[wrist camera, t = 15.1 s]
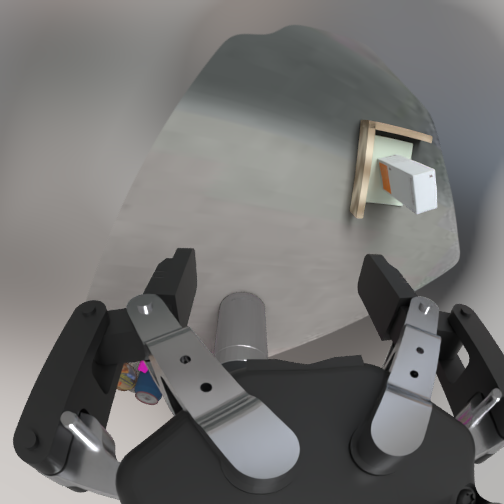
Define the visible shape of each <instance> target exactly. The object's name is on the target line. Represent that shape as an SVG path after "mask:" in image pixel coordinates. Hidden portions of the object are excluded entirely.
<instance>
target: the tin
mask: <svg viewBox="0 0 504 504" xmlns="http://www.w3.org/2000/svg"><path fill="white" fill-rule="evenodd" d="M136 382H137V374H136V372H135V370H134V369H133V367H132V366H131V365H129V364H128V363H124V366H123V369H122V372H121V375H120V379H119V382H118V385H117V389H118V390H121V391H127V390H130V389H132V388H134V387H135V385H136Z"/></svg>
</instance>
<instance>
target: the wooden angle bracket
mask: <svg viewBox="0 0 504 504" xmlns="http://www.w3.org/2000/svg"><path fill="white" fill-rule="evenodd" d="M375 129H376V130H381V131H385V132H390V133H394V134H399V135H403V136H407V137H411V138H415V139H418V140H422V141H426V142H430V143H432V136H430V135H426V134H423V133H419V132H416V131H412V130H408V129H404V128H401V127H396V126H392V125H388V124H384V123H379V122H374V121H370V120H361V124H360V135H359V145H358V154H357V163H356V171H355V178H354V186H353V192H352V199H351V205H350V212H351V213H352V214H353V215H354V216H355V217H356V218H363V214H364V209H365V203H366V197H367V191H368V185H369V178H370V172H371V164H372V156H373V148H374V139H375Z"/></svg>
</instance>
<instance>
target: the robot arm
mask: <svg viewBox="0 0 504 504" xmlns="http://www.w3.org/2000/svg"><path fill="white" fill-rule="evenodd" d="M196 288H197V273H196V260H195V250H194V248H177V250H176V252H175V254H174V256H173V258H166V259H165V260H163V261H162V262H161V263H159V265H158V266H157V268H156V270H155V272H154V274H153V276H152V278H151V279H150V281H149V283H148V285H147V287H146V289H145V291H144V293H143V294H141V295H138V296H136V297H134V298H132V299H131V300H130V301H129V302H128V304H127V306H126V308H124V309H118V310H110V311H107V309H106V306H105V304H104V303H102V302H101V301H96V300H92V301H87V302H84V303H82V304H81V305H79V306H78V307H77V308H76V309H75V310H74V312H73V314H72V315H71V317H70V319H69V320H68V322H67V324H66V325H65V327H64V329H63V331H62V332H61V334H60V336H59V338H58V339H57V341H56V343H55V345H54V347H53V349H52V350H51V352H50V354H49V356H48V358H47V360H46V362H45V364H44V366H43V368H42V370H41V372H40V374H39V376H38V378H37V380H36V383H35V385H34V387H33V389H32V391H31V394H30V396H29V398H28V400H27V403H26V405H25V407H24V410H23V412H22V415H21V417H20V420H19V422H18V426H17V428H16V431H15V433H14V437H13V444H14V448H15V451H16V453H17V455H18V456H19V457H20V458H21V459H22V460H23V461H24V462H26V463H27V464H29V465H30V466H32V467H33V468H35V469H36V470H37V471H38V472H39V473H41V474H42V475H44V476H46V477H47V478H49V479H51V480H53V481H54V482H56V483H58V484H60V485H62V486H65V487H67V488H69V489H71V490H73V491H75V492H86V491H91V492H94V493H97V494H100V495H104V496H107V497H110V498H115V499H118V500H120V502H121V504H500V503H492V502H489V501H487V500H485V499H483V498H482V497H481V496H480V495H479V494H478V492H477V490H476V487H475V482H474V463H476V464H479V463H482V462H483V461H485V460H486V459H488V458H489V457H491V456H492V455H493V454H495V453H496V452H497V451H499V450H500V449H501V448H502V447H504V355H503V353H502V351H501V350H500V348H499V347H498V345H497V344H496V342H495V341H494V339H493V338H492V336H491V335H490V333H489V332H488V330H487V329H486V327H485V326H484V324H483V323H482V322H481V320H480V319H479V318H478V316H477V315H476V313H475V312H474V311H473V310H472V309H471V308H469V307H468V306H466V305H462V304H456V305H455V306H454V307H453V309H452V311H451V313H446V312H441V311H439V309H438V306H437V305H436V304H435V303H434V302H433V301H431V300H430V299H428V298H425V297H418V296H417V295H416V293H415V292H414V290H413V289H412V288H411V286H410V285H409V284H408V283H407V281H406V280H405V279H404V278H403V276H402V275H401V273H400V272H399V271H398V270H397V269H396V268H394V267H393V266H391V265H390V264H389V263H388V262H387V261H386V259H385V258H384V257H383V256H382V255H378V254H367V255H366V256H365V258H364V262H363V265H362V269H361V273H360V277H359V281H358V293H359V296H360V297H361V299H362V301H363V303H364V305H365V307H366V309H367V311H368V313H369V315H370V317H371V319H372V321H373V323H374V326H375V328H376V330H377V332H378V334H379V336H380V338H381V340H382V341H384V340H392V341H393V342H392V344H391V346H390V348H389V351H388V354H387V356H386V359H385V361H384V364H383V366H382V368H380V367H378V366H375V365H371V364H366V363H364V362H363V360H362V357H361V355H356V356H345V357H334V358H331V359H327V360H324V361H320V362H317V363H313V364H300V363H294V362H288V361H282V360H277V359H268V350H267V333H266V317H265V306H264V304H263V302H262V301H261V299H260V298H258V297H257V296H255V295H253V294H250V293H245V292H238V293H233V294H231V295H229V296H227V297H226V298H225V299H224V300H223V301H222V303H221V305H220V311H219V318H218V325H217V333H216V341H215V349H214V355H213V354H212V353H211V352H210V351H209V350H208V348H207V347H206V346H205V345H204V343H203V342H202V341H201V340H200V339H199V337H198V336H197V335H196V334H195V332H194V331H193V330H192V329H191V328H190V327H189V326H187V324H188V320H189V316H190V312H191V308H192V304H193V301H194V297H195V293H196ZM462 345H464V347H465V348H466V350H467V352H468V354H469V358H470V359H469V364H468V366H467V367H466V369H465V368H464V366H463V364H462V362H461V360H460V358H459V356H458V355H457V353H458V352H459V350H460V348H461V347H462ZM136 361H144V363H145V365H146V367H147V369H148V370H149V372H150V374H151V376H152V378H153V379H154V381H155V383H156V385H157V386H158V388H159V390H160V392H161V393H162V395H163V397H164V399H165V401H166V403H167V405H168V407H169V409H170V410H171V412H172V414H173V415H174V417H173V418H171V419H170V420H169V421H168V422H167V423H165V424H164V425H163V426H162V427H160V428H159V429H158V430H157V431H156V432H154V433H153V434H152V435H151V436H149V437H148V438H147V439H145V440H144V441H143V442H142V443H141V444H139V445H138V446H136V447H135V448H134V449H132V450H131V451H130V452H129V453H128V454H127V455H126V456H125V457H124V458H123V460H122V461H121V462H118V461H117V459H116V455H115V443H114V440H113V438H112V437H111V435H110V434H109V433H108V432H107V431H106V426H107V422H108V418H109V414H110V410H111V406H112V403H113V399H114V396H115V392H116V389H117V385H118V382H119V379H120V375H121V372H122V369H123V366H124V363H129V362H136ZM436 374H437V376H438V378H439V381H440V383H441V385H442V388H443V390H444V392H445V395H446V397H447V400H448V402H449V405H450V407H451V410H452V412H453V415H454V417H453V416H451V415H450V414H448V413H447V412H445V411H444V410H442V409H441V408H440V407H438V406H436V405H435V404H434V403H432V402H431V401H430V399H431V394H432V390H433V385H434V380H435V375H436Z"/></svg>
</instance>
